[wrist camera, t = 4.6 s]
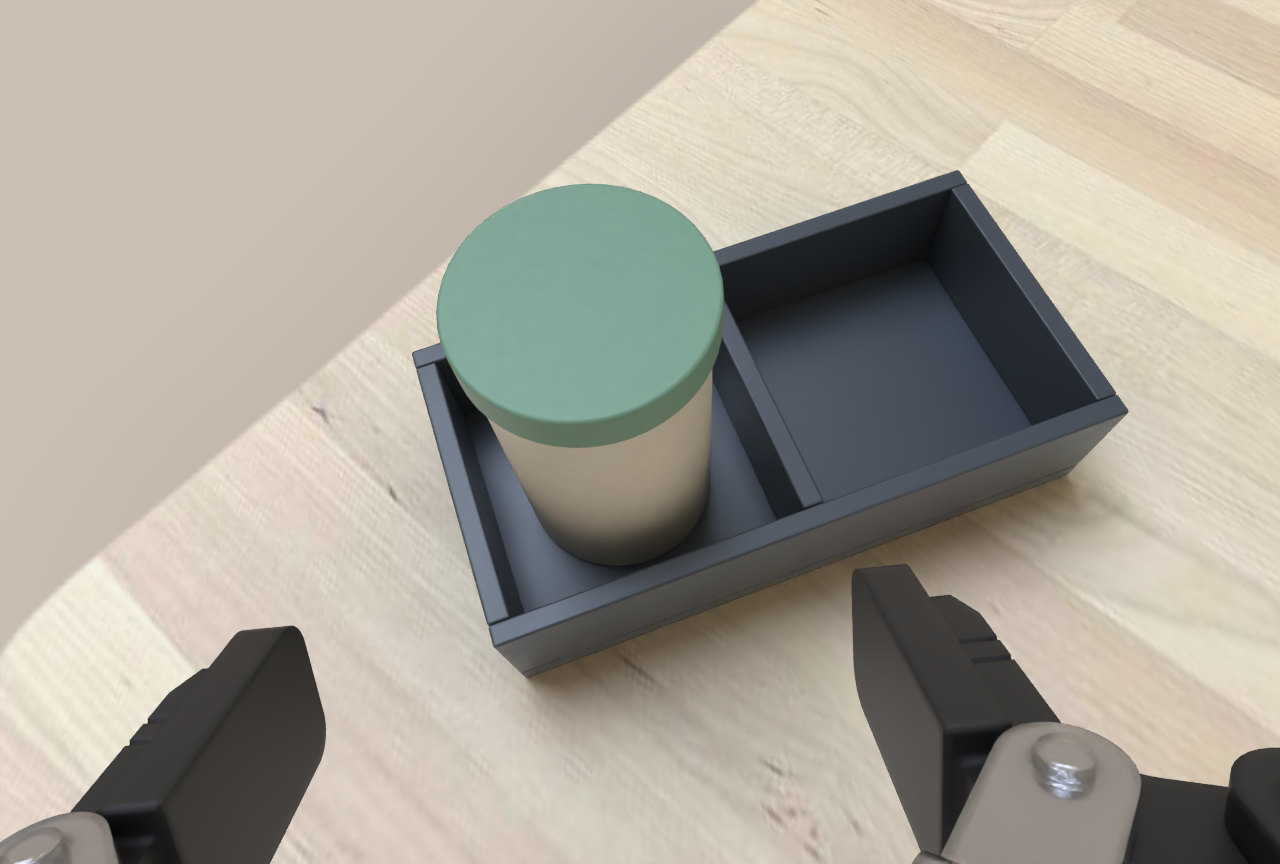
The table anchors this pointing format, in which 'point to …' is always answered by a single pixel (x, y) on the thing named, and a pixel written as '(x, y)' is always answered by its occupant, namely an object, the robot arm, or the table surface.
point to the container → (592, 361)
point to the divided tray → (808, 421)
